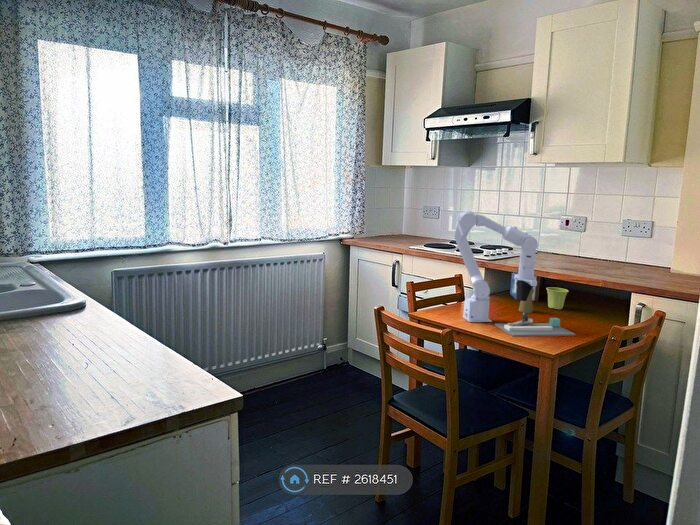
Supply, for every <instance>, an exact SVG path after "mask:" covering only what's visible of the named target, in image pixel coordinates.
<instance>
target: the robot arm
mask: <svg viewBox="0 0 700 525" xmlns="http://www.w3.org/2000/svg"><path fill="white" fill-rule="evenodd" d="M456 221H457V222H456V225H455V230H454V232H453V233H454V234H453V237H454V240H455V242H456V245H457V248H458V250H459V253H460V255H461V257H462V260H463V263H464V265H465V267H466V269H467V273H468V275H469V278H470V280H471V283H472V290H473V294H471V297H466V298H465V299H464V302H463V312H462V318H463V319H465V320H466V321H468V322H469V323H486V322H487V323H491V322H493V320H491V319H490V318H489V312H490V311H489V310H490V302H491V301H490V300H491V297H490V294H491V289H490V287H489V283H488V282H487V281H486V280H485V279H484V278H483V276H482V272H481V270H480V268H479V265H478V263H477V260H476V258H475V256H474V253H473V251H472V248H471V245H470V243H469V240H468V239H467V237H468V235H469V232H470V230H472V229H473V227H474V226H475V225H476V227H486V228H487V229H490V230H492V231H494V232H496V233H498V234H500V235H501V236H502V238H503V240H505V241H507V242H509V243H510V244H513V245H515V246H517V247H521V249H520V255H519V263H518V264H519V272H518V274H515V276H514V279H517V280H520V281H519V282H516V285H517V287H518V290H519V296H520V300H519V301H527V298H528V295H529V293H530V291H531V289H532V288H533V287H534V286H537V281H536V278H534V277H533V276H534V266H536V252H537V249H538V247H539V244H538V240H537V238H535V237H533V236H532V235H530V234H529V232H527V231H526V232H524V231H522V230H519V229H518V227H517V226H516V225H510V226H506V227H505V225H502V224H501V223H498V222H497V221H495V220H492V219H491V218H489V217H487V216H485V215H482V214H480V213H474V212H473V211H471V210H464V211H463V212H461V214H460V215H459V217H458V218H457V220H456Z"/></svg>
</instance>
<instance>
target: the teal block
mask: <svg viewBox="0 0 700 525" xmlns="http://www.w3.org/2000/svg"><path fill="white" fill-rule="evenodd" d="M548 323H549V325H550V326H552V327H561V318H558V317H550V318H549V322H548Z"/></svg>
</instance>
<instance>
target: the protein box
mask: <svg viewBox="0 0 700 525" xmlns="http://www.w3.org/2000/svg"><path fill="white" fill-rule="evenodd" d="M518 272H519V268H518V270H517V273H514V272H513V273H512V272H511V278H510V290H509V293H510V295H511V296H512V297H513V298H514V300H516V301H521V300H520V296H519V290H518V287H517V285H516V282H519V281H520V280H517V279H514V276H515V274H518ZM533 277H534V278H536V281H537V286H534V287H533V289H534V292H533V294H532V302H538V301H539V292H540V291H539V290H540V283H541V282H540V281H541V276H540V277H539V276H533Z"/></svg>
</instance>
